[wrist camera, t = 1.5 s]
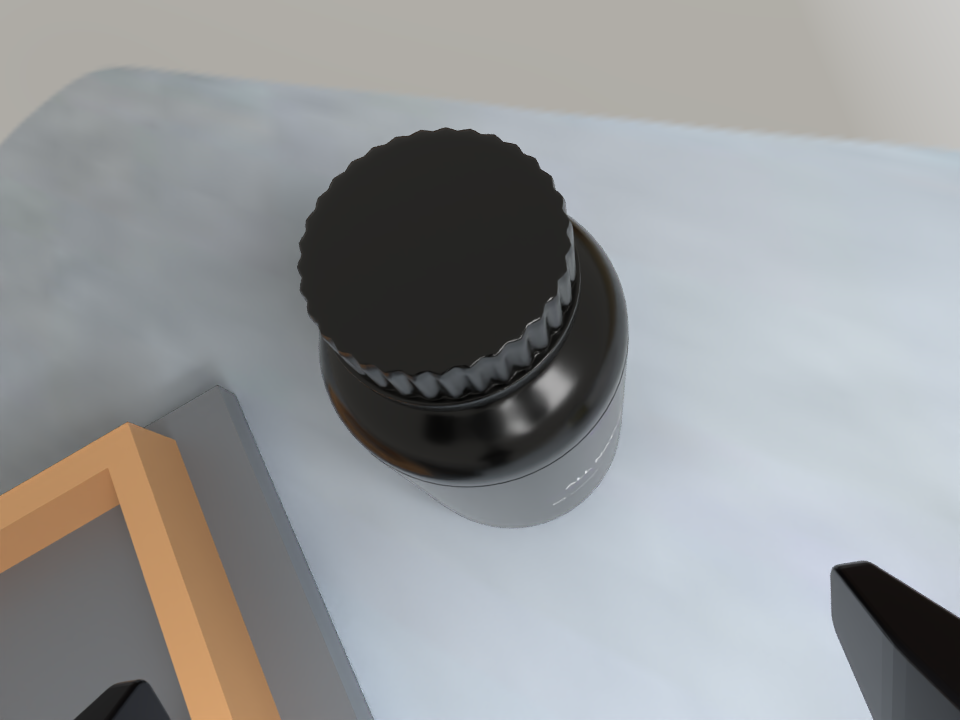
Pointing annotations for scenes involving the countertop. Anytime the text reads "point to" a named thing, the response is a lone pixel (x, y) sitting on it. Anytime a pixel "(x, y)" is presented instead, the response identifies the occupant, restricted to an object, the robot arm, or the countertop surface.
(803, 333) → the countertop surface
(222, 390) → the housing
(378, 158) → the supplement bottle
